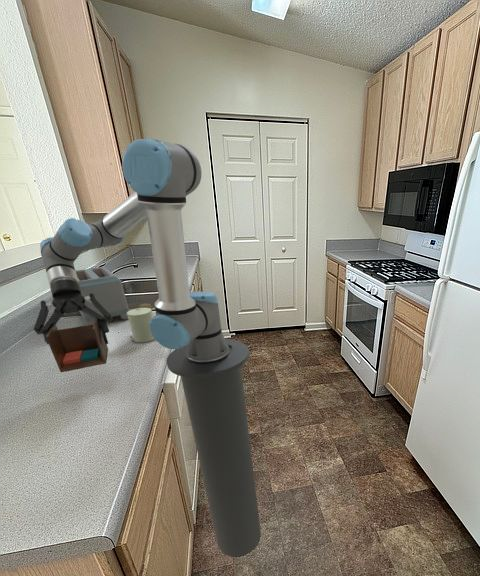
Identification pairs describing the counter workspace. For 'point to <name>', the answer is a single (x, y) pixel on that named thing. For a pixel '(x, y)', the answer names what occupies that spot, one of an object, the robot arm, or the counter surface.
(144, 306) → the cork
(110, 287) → the toaster
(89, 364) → the brown wooden open box
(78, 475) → the counter surface
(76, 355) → the packet coral
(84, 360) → the packet teal
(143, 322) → the can
